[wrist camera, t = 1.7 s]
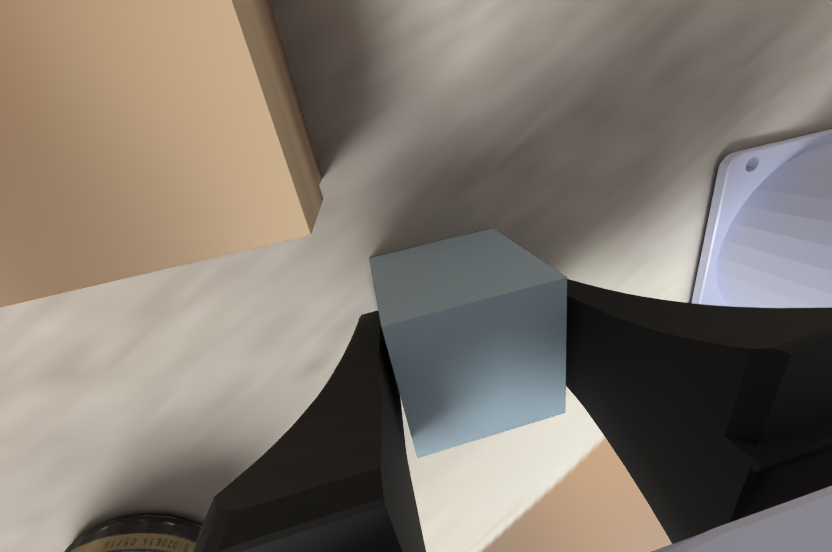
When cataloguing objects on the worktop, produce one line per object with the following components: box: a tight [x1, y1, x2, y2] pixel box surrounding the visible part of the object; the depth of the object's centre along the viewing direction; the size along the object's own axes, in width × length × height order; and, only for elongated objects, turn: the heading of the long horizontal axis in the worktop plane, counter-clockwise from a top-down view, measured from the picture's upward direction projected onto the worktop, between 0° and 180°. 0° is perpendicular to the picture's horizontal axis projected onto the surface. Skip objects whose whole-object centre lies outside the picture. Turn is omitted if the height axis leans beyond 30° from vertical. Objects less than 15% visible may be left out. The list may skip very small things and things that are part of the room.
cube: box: [369, 228, 567, 458], centre depth 11 cm, size 4×4×4 cm
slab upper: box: [0, 0, 323, 307], centre depth 5 cm, size 6×6×3 cm
